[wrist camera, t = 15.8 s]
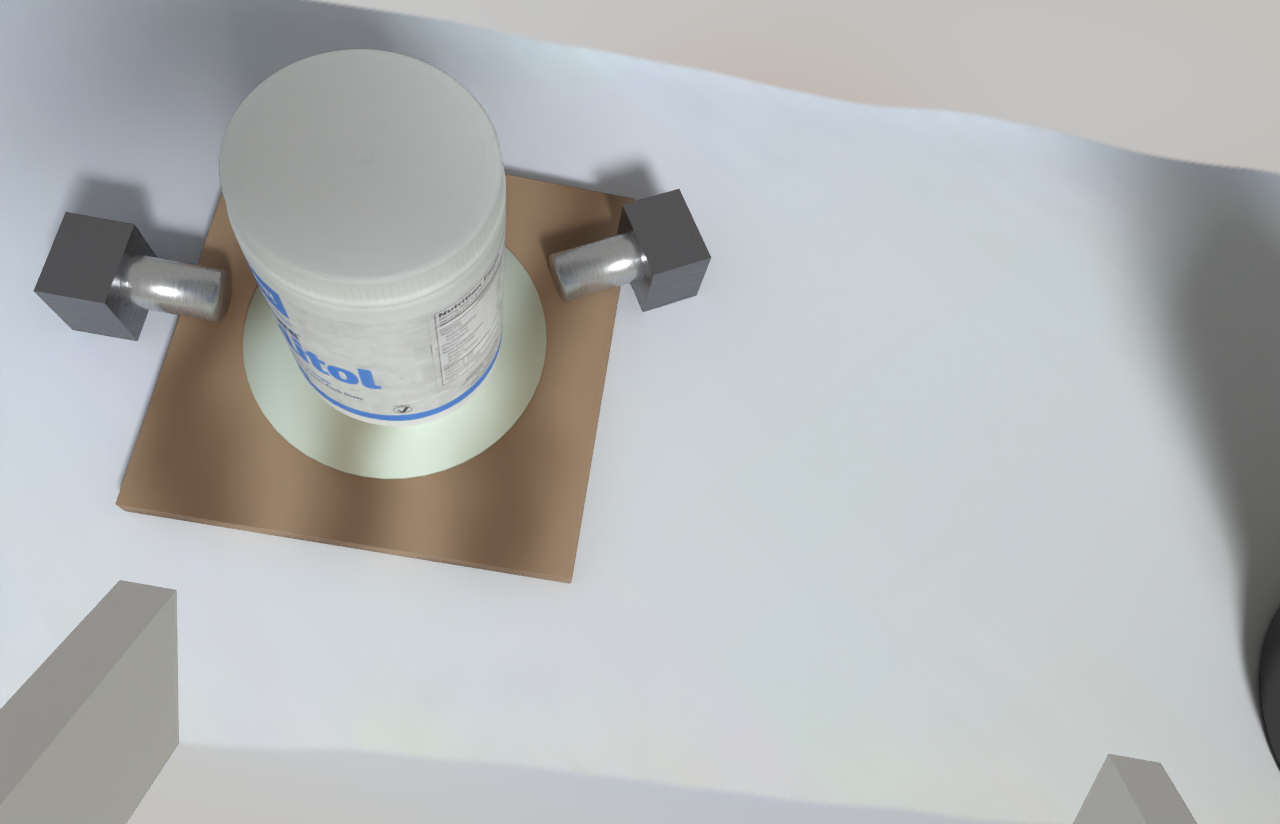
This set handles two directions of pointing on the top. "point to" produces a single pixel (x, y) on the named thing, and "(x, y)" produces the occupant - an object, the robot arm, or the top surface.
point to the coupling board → (387, 455)
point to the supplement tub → (373, 229)
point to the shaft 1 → (123, 280)
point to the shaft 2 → (639, 255)
